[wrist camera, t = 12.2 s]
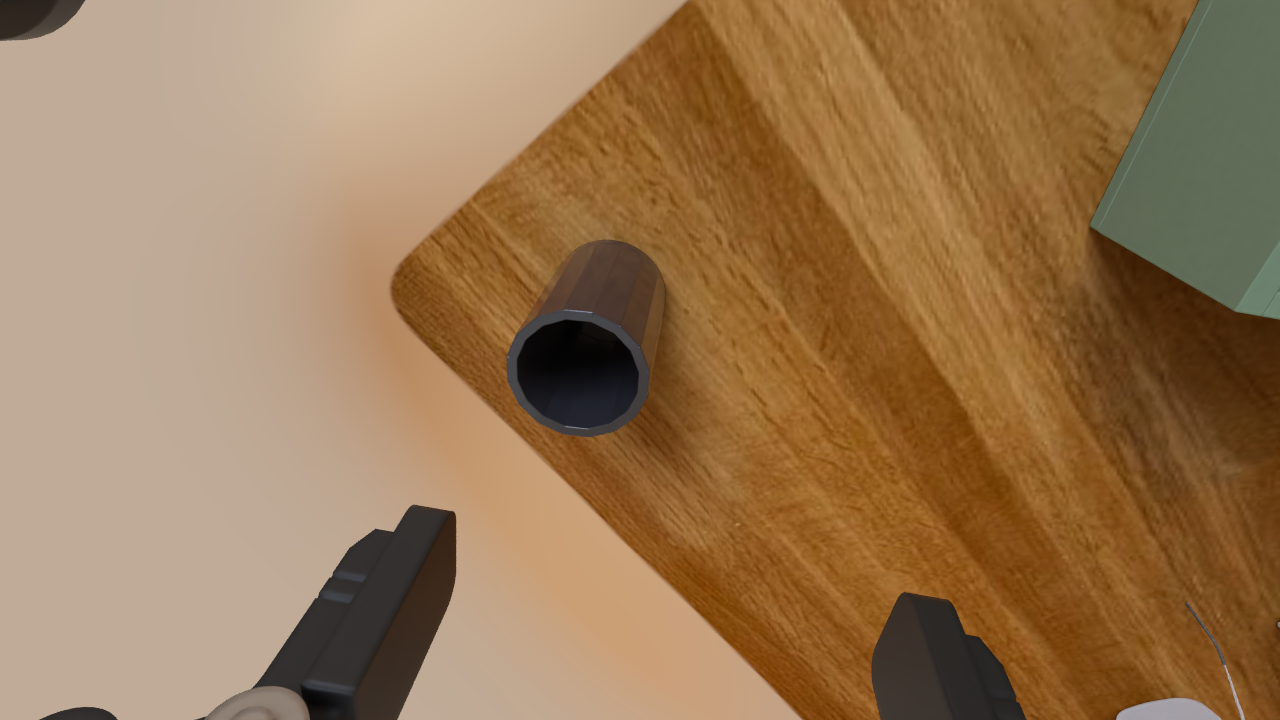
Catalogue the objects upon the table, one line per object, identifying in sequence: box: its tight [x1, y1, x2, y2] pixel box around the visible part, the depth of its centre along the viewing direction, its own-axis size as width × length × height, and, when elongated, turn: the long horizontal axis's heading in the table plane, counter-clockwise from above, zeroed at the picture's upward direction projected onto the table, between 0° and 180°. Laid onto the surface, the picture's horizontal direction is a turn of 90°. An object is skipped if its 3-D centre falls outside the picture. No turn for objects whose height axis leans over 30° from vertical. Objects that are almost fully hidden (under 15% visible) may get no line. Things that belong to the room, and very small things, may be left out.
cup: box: [507, 240, 666, 437], centre depth 27 cm, size 5×5×8 cm
